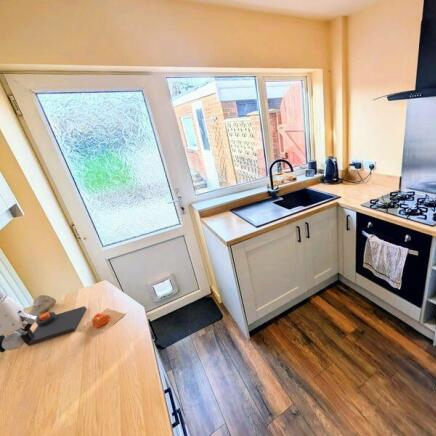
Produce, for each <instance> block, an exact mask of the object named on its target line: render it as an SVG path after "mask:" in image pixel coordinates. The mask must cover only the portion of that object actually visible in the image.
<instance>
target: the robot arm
mask: <svg viewBox="0 0 436 436" xmlns="http://www.w3.org/2000/svg"><path fill="white" fill-rule="evenodd" d="M37 319H38V318H37V317H36V316H32V315H28V313H26V311H25V310H24V309H23V308H22V307H21V306H20V304H19V303H17V302H16V301H15V300H14V299H13V298H12V297H11V296H9V295H7V294H4V293H3V291H2V289H0V353H1V354H2V353H5V352H6V350H5V349H4V348H3V347H2V341H3V340H4V338H5V337H6V336H5V335H6V334H11V333H14V332H19V333H20V334H22V335H21V338H22V339H23V341H24V342H25V345H26V346H28V345H29V344H31V342H32V341H33V340H34V338H35V335H34V333H33V332H34V331H32V329H31V328H32V326H33V325H34V323H36V321H37Z"/></svg>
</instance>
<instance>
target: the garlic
mask: <svg viewBox="0 0 436 436" xmlns="http://www.w3.org/2000/svg"><path fill="white" fill-rule="evenodd" d="M21 335H22V334H20V333H19V332H17V331H13V332H10V333H9V334H8V335H6V336H5V338H4V340H3V341H2V347H3V348H4V349H5V351H13V350H18V349H21V348H22V347H23V346H24V345H26V343H25V342H24V341H23V339H22V338H21Z"/></svg>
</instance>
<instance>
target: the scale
mask: <svg viewBox="0 0 436 436" xmlns="http://www.w3.org/2000/svg"><path fill="white" fill-rule="evenodd" d="M86 311H87V307H86V306H80V307H77V308H73V309H70V310H67V311H63V312H60V313H57V314H56V312H54V311H50V313H49V314H50V317H49V318H48V319H46V320H44V321H41V320H40V318H39V317H38V318H37V319H36V321H35V324H36V325H37V326H36V328H35V329H34V331H32V332H33V333H34V335H35V338H34V340H33V341H32V342H31V344H29V345H27V346H28V347H30V346H33V345H36V344H39V343H42V342H46V341H49V340H52V339H55V338H58V337H61V336H65V335H68V334H71V333H74V332H76V331H77V330H78V329H77V328H78V327H79V325H80V323H81V321H82V319H83V317H84V315H85V314H86Z"/></svg>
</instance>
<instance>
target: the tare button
mask: <svg viewBox="0 0 436 436" xmlns="http://www.w3.org/2000/svg"><path fill="white" fill-rule="evenodd" d="M49 317H50V314H49V313H48V311H45V312H43V313H42V315H40V316H39V317H38V318H40V320H41V321H44V320H46V319H48V318H49Z"/></svg>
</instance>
